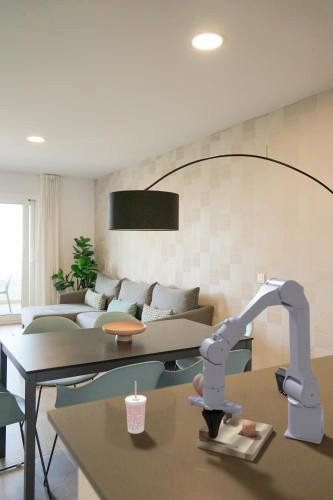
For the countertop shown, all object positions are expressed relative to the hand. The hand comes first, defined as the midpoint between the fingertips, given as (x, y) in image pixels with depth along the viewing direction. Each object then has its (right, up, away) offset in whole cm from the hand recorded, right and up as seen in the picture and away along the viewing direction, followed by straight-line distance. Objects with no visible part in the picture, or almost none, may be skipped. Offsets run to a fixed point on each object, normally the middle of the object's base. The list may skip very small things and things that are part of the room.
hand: (214, 437), depth 107 cm
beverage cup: (-21, -3, +10) cm, 24 cm away
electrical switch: (+31, -3, +38) cm, 49 cm away
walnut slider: (-2, -1, +1) cm, 3 cm away
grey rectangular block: (+6, 0, +13) cm, 14 cm away
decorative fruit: (+1, -3, +34) cm, 34 cm away
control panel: (+7, -3, +5) cm, 9 cm away
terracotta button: (+10, -2, +5) cm, 11 cm away
